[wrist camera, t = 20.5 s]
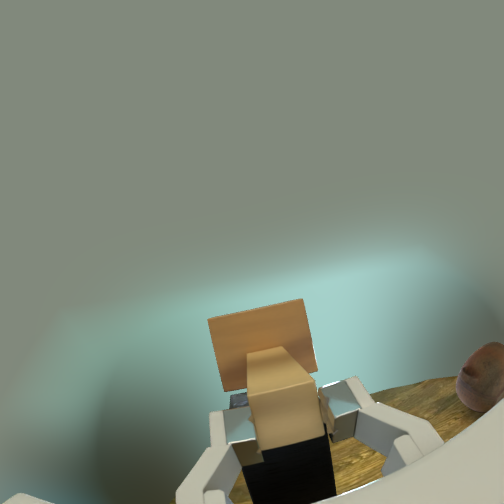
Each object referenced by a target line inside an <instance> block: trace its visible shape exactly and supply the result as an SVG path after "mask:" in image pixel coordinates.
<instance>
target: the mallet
mask: <svg viewBox="0 0 504 504" xmlns="http://www.w3.org/2000/svg"><path fill="white" fill-rule="evenodd" d="M208 325H209V329H210V334H211V338H212V343H213V347H214V352H215V356H216V360H217V364H218V368H219V373H220V377H221V381H222V385H223V389H224V392H228V391H234V390H239V389H244V388H247V398H248V403H249V406H250V407H251V410H252V415H253V418H254V421H255V425H256V429H257V433H258V437H259V443H260V446H261V450H268V449H273V448H277V447H282V446H286V445H290V444H294V443H298V442H302V441H306V440H310V439H313V438H317V437H320V436H323V435H325V431H324V425H323V421H322V417H321V412H320V407H319V398H318V393H317V387H316V382H315V380H314V379H313V378H312V377H311V376H310V375H309V373H313V372H316V371H318V368H317V363H316V357H315V353H314V348H313V343H312V338H311V333H310V329H309V324H308V319H307V315H306V310H305V306H304V302H303V299H296V300H291V301H287V302H283V303H278V304H273V305H269V306H264V307H260V308H255V309H251V310H246V311H241V312H236V313H232V314H227V315H222V316H217V317H213V318H210V319H208Z"/></svg>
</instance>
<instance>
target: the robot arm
mask: <svg viewBox="0 0 504 504" xmlns="http://www.w3.org/2000/svg"><path fill="white" fill-rule="evenodd" d="M318 396H319V398H320V400H319V407H320V412H321V417H322V421H323V423H325V424H327V432H328V434H329V436H330V439H331V441H332V443H336V442H339V441H342V440H345V439H348V438H351V437H354V438H355V439H357V440H359V441H360V442H362V443H364V444H365V445H367V446H369V447H370V448H372V449H374V450H376V451H377V452H379V453H381V454H383V455H384V456H386V457H387V458H386V461H385V463H384V465H383V467H382V469H381V472H382V474H383V476H384V477H382V478H380V479H378V480H376V481H373V482H371V483H369V484H366V485H364V486H361V487H359V488H356V489H354V490H351V491H348V492H346V493H343V494H340V495H337V496H334V497H331V498H328V499H325V500H322V501H318V502H315V503H312V504H504V398H503V399H502V400H501V401H500V402H498V403H497V404H496V405H495V406H494V407H493V408H492V409H490V410H489V411H488V412H487V413H486V414H484V415H483V416H482V417H481V418H479V419H478V420H477V421H475V422H474V423H473V424H471V425H470V426H469V427H467V428H466V429H465V430H463V431H462V432H461V433H459V434H458V435H456V436H455V437H453V438H452V439H450V440H449V441H447V442H446V443H444V441H443V440H442V439H441V437H440V436H439V435H438V433H437V432H436V431H435V429H434V428H433V427H432V425H431V424H430V423H429V421H427V420H424V419H421V418H418V417H416V416H413V415H410V414H408V413H405V412H402V411H400V410H397V409H395V408H392V407H390V406H387V405H385V404H382V403H380V402H378V403H375V402H374V401H373V399H372V398H371V396H370V395H369V393H368V392H367V390H366V389H365V387H364V386H363V384H362V383H361V381H360V380H359V378H358V377H357V376H354V377H351V378H348V379H345V380H341V381H338V382H335V383H332V384H330V385H327V386H323V387H320V388H319V389H318ZM209 424H210V438H211V447H207V449H206V450H205V451H204V453H203V455H202V456H201V457H200V459H199V460H198V461H197V463H196V464H195V466H194V468H193V469H192V470H191V471H190V473H189V474H188V476H187V477H186V478H185V480H184V481H183V483H182V484H181V485H180V487H179V488H178V489H177V491H176V504H233V503H232V501H231V500H230V499H229V498H228V495H229V493H230V491H231V489H232V487H233V485H234V483H235V481H236V479H237V477H238V475H239V473H240V471H241V469H242V466H247V465H252V464H257V463H261V462H264V459H263V455H262V450H261V446H260V443H259V437H258V433H257V429H256V425H255V421H254V418H253V415H252V410H251V407H250V406H246V407H240V408H233V409H227V410H220V411H214V412H210V414H209ZM3 504H54V503H51V502H47V501H44V500H41V499H38V498H35V497H33V496H30V495H27V494H23V493H18V494H16V495H14V496H13V497H11V498H10V499H8V500H7V501H5V502H4V503H3Z"/></svg>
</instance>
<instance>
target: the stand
mask: <svg viewBox="0 0 504 504" xmlns="http://www.w3.org/2000/svg"><path fill="white" fill-rule="evenodd" d="M318 398H319V397H318ZM319 400H320V399H319ZM246 406H249V403H248V398H247V392H245V393H240V394H234V395H231V396H230V408H229V409H233V408H240V407H246ZM323 425H324V431H325V435H323V436H320V437H317V438H313V439H310V440H306V441H302V442H298V443H294V444H290V445H286V446H282V447H277V448H273V449H268V450H262V455H263V459H264V462H261V463H257V464H252V465H247V466H242V472H243V475H244V478H245V481H246V484H247V487H248V490H249V493H250V496H251V499H252V502H253V504H312V503H315V502H318V501H322V500H325V499H328V498H331V497H334V496H337V494H336V486H335V479H334V472H333V465H332V458H331V452H330V445H329V439H328V433H327V427H326V424H325V423H323Z"/></svg>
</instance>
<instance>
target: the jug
mask: <svg viewBox="0 0 504 504" xmlns="http://www.w3.org/2000/svg"><path fill="white" fill-rule="evenodd" d="M456 392H457V394H458V396H459V398H460V400H461V401H462V402H463V403H464V404H465V405H466V406H467V407H468V408H470V409H472V410H474V411H477V412H482V413H487V412H488V411H489V410H490V409H492V408H493V407H494V406H495V405H496V404H497V403H498V402H500V401H501V400H502V399H503V398H504V345H503V344H501V343H498V342H490V343H487V344H485V345H483V346H482V347H480V348H479V349H478V350H477V351H475V352H474V353H473V354H472V355H471V356H470V357H469V358H468V360H467V361H466V362H465V364H464V365H463V367H462V368H461V371H460V373H459V375H458V378H457V383H456Z"/></svg>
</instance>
